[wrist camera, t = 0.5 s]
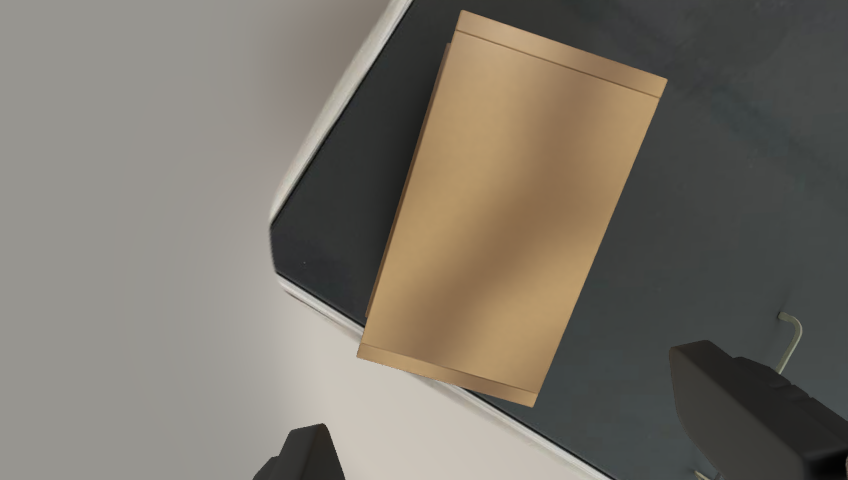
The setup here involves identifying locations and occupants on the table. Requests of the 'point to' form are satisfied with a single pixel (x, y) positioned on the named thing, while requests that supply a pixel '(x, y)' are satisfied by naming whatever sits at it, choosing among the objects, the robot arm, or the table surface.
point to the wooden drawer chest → (504, 207)
